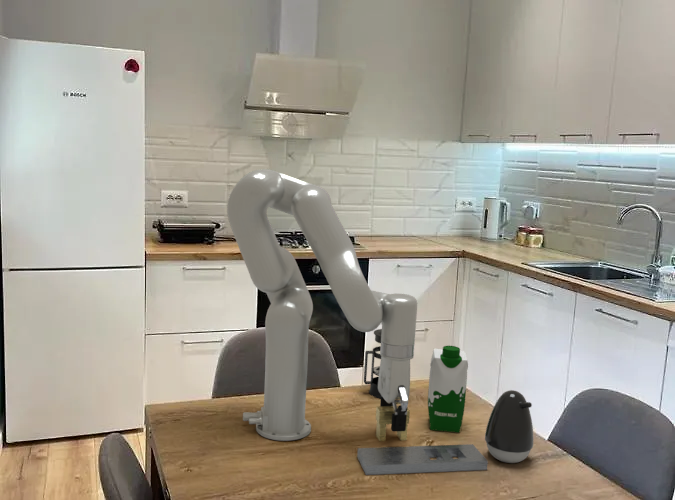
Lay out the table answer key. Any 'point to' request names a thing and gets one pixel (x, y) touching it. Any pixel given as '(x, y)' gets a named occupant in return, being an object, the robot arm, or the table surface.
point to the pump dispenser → (510, 428)
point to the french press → (375, 370)
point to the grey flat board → (420, 459)
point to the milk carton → (447, 389)
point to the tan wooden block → (388, 422)
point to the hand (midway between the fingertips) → (392, 422)
